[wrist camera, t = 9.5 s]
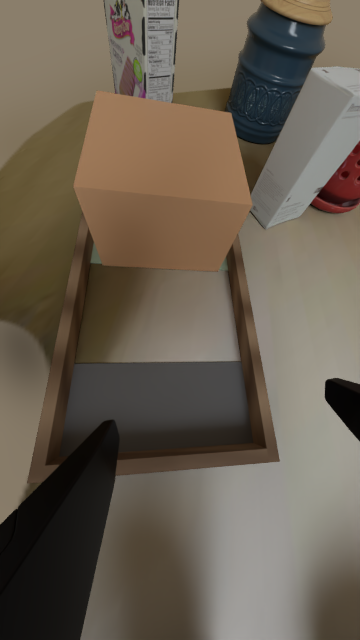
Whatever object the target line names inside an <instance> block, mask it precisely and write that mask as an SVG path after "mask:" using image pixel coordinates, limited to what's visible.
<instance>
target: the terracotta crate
mask: <svg viewBox="0 0 360 640" xmlns="http://www.w3.org/2000/svg"><path fill="white" fill-rule="evenodd" d="M73 187H74V190H75V192H76V195H77V198H78V200H79V203H80V206H81V208H82V211H83V214H84V216H85V219H86V222H87V225H88V227H89V230H90V233H91V235H92V238H93V241H94V243H95V246H96V249H97V251H98V254H99V257H100V259H101V262H102V265H103V266H121V267H140V268H159V269H178V270H197V271H216V272H218V270H219V269H220V267H221V265H222V263H223V261H224V259H225V257H226V255H227V253H228V251H229V249H230V248H231V246H232V244H233V242H234V240H235V238H236V236H237V234H238V232H239V230H240V228H241V227H242V225H243V223H244V221H245V219H246V217H247V215H248V213H249V211H250V209H251V207H252V206H253V204H252V200H251V195H250V191H249V187H248V182H247V178H246V174H245V170H244V165H243V161H242V157H241V153H240V148H239V144H238V140H237V136H236V131H235V127H234V123H233V118H232V114H231V113H229V112H223V111H217V110H211V109H205V108H199V107H193V106H187V105H181V104H175V103H169V102H163V101H157V100H151V99H145V98H139V97H133V96H127V95H121V94H115V93H109V92H103V91H96V95H95V99H94V103H93V107H92V112H91V116H90V120H89V124H88V128H87V132H86V136H85V140H84V145H83V149H82V153H81V157H80V161H79V165H78V169H77V173H76V178H75V182H74V186H73Z"/></svg>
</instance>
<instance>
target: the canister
mask: <svg viewBox="0 0 360 640" xmlns="http://www.w3.org/2000/svg"><path fill="white" fill-rule="evenodd" d="M332 18H333V17H332V12H331V9H330V0H261V4H260V6H259V8H258V10H257V12H255V13H254V14H253V15H251V16H250V17H249V19H248V21H247V27H248V35H247V38H246V41H245V45H244V48H243V49H242V50H241V51H240V53H239V57H238V58H239V60H238V65H237V69H236V72H235V76H234V80H233V84H232V88H231V92H230V96H229V99H228V101H227V104H226V108H225V112H229V113H231V114H232V118H233V123H234V127H235V131H236V135H237V136H238V137H240V138H242V139H244V140H247V141H250V142H253V143H259V144H267V143H272V142H274V141H276V140H277V139H278V137H279V134H280V132H281V130H282V128H283V126H284V124H285V122H286V120H287V118H288V116H289V114H290V112H291V110H292V108H293V105H294V103H295V101H296V99H297V97H298V95H299V93H300V91H301V89H302V87H303V85H304V83H305V80H306V78H307V76H308V74H309V72H310V70H311V68H312V65H313V63H314V61H315V59H316V57H317V56H318V55H319V54H320V53H321V52H322V51H323V50H324V48H325V40H324V37H323V34H324V30H325V26H326V25H328V24H329V23H330V22H331V21H332Z"/></svg>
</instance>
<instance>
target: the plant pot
mask: <svg viewBox="0 0 360 640" xmlns="http://www.w3.org/2000/svg"><path fill="white" fill-rule="evenodd" d="M359 203H360V141H359V142H358V144H357V145H356V146H355V147H354V149H353V150H352V151H351V153H350V154H349V155H348V156H347V158H346V159H345V160H344V162H343V163H342V164H341V165H340V167H339V168H338V169H337V170H336V172H335V173H334V174H333V175H332V177H331V178H330V179H329V180H328V182H327V183H326V184H325V185H324V187H323V188H322V189H321V191H320V192H319V193H318V194H317V196H316V197H315V198H314V199H313V201H312V202H311V203H310V204H312V205H313V206H315V207H317V208H318V209H319V210H324V211H327V212H331V213H344V212H348V211H350V210H352V209H354V208H356V207H357V206H358V205H359Z"/></svg>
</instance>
